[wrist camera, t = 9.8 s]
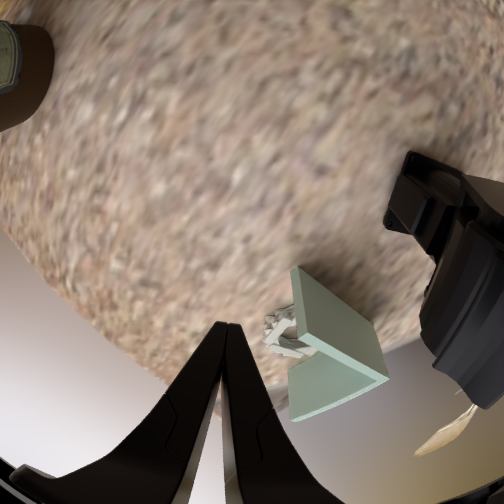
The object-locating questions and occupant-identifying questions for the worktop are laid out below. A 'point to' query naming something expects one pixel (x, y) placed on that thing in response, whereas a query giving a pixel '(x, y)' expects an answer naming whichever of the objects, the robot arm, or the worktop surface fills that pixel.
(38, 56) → the olive oil
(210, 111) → the worktop surface
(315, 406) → the right angle wall
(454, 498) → the robot arm
